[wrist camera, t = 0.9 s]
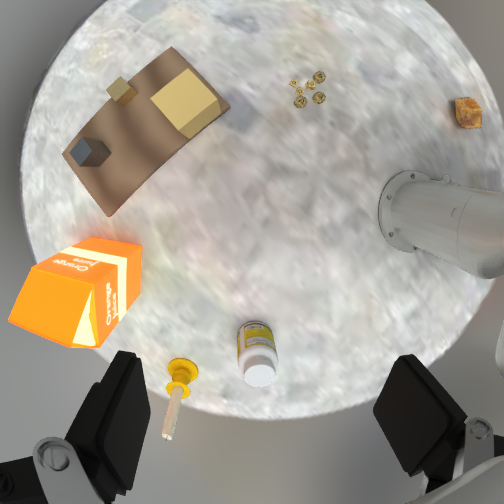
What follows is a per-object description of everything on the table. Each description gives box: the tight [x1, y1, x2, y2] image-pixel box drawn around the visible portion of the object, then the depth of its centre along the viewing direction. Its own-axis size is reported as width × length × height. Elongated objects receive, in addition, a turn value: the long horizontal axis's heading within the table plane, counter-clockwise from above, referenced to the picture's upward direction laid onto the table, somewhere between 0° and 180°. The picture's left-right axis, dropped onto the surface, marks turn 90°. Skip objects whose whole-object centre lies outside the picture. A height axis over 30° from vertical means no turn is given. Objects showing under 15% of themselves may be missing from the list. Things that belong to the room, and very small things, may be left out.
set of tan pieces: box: [289, 71, 326, 108], centre depth 31 cm, size 5×5×2 cm
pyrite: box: [455, 97, 482, 129], centre depth 30 cm, size 5×7×4 cm
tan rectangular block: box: [150, 69, 221, 139], centre depth 27 cm, size 5×5×7 cm
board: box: [62, 46, 230, 217], centre depth 31 cm, size 22×13×1 cm, turn 129°
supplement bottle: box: [237, 322, 278, 387], centre depth 36 cm, size 5×5×10 cm
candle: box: [162, 358, 198, 440], centre depth 35 cm, size 5×5×16 cm
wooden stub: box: [106, 76, 138, 106], centre depth 28 cm, size 3×3×3 cm
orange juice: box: [8, 237, 142, 348], centre depth 27 cm, size 8×9×20 cm
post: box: [69, 137, 112, 167], centre depth 29 cm, size 3×3×6 cm
